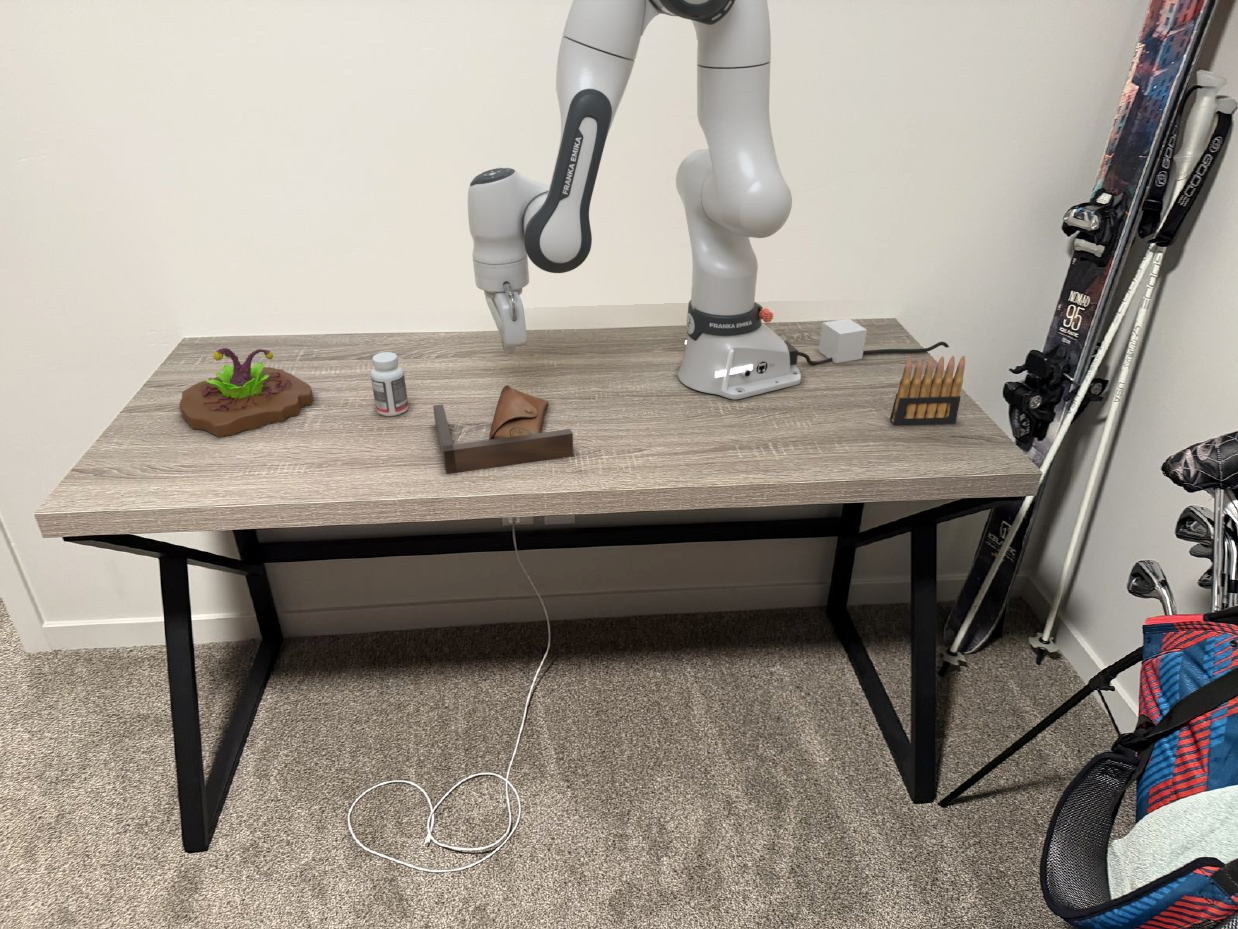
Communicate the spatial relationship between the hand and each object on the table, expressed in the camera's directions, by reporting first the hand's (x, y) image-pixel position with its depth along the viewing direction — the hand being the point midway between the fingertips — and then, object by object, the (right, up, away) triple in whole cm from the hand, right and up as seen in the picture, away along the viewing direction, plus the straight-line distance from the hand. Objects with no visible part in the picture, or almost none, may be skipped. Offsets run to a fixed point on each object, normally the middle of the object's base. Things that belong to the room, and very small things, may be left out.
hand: (508, 350), depth 147 cm
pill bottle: (-20, -10, -2) cm, 22 cm away
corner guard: (0, -16, -10) cm, 19 cm away
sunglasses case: (+3, -14, -7) cm, 16 cm away
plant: (-45, -10, -1) cm, 46 cm away
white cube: (+62, +2, +19) cm, 65 cm away
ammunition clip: (+70, -13, -4) cm, 71 cm away
